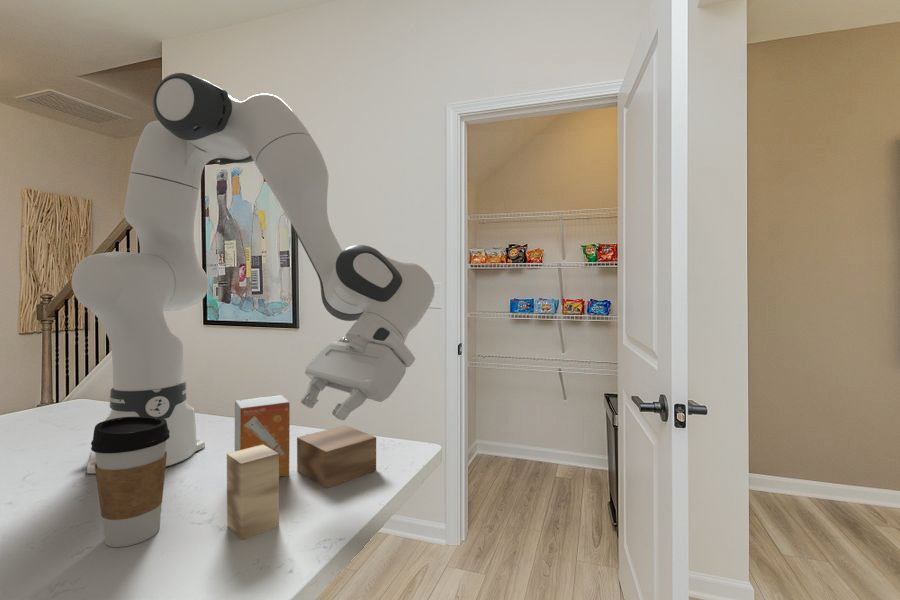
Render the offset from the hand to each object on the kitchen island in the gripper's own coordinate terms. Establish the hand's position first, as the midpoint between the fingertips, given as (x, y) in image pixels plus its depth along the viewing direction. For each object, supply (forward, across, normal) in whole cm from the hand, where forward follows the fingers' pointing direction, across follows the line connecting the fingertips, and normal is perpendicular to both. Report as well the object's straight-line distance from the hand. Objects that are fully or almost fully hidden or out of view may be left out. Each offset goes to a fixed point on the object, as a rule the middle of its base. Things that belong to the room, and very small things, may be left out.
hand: (320, 411), depth 68 cm
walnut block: (+4, -8, +15) cm, 18 cm away
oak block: (+17, 0, +2) cm, 17 cm away
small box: (+12, -16, +8) cm, 21 cm away
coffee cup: (+26, -9, -6) cm, 28 cm away
